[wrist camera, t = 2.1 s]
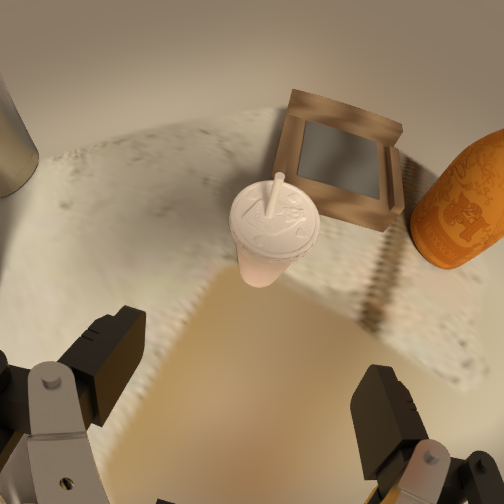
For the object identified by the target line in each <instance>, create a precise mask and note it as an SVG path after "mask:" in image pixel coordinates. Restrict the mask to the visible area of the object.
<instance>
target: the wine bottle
mask: <svg viewBox="0 0 504 504" xmlns="http://www.w3.org/2000/svg"><path fill="white" fill-rule="evenodd" d="M410 229H411V234H412V238H413V241H414V243H415V245H416V247H417V248H418V250H419V251H420V253H421V254H422V255H423V257H424V258H425V259H426V260H428V261H429V262H430V263H431V264H433V265H434V266H436V267H439V268H442V269H454V268H457V267H459V266H461V265H463V264H464V263H466V262H468V261H469V260H471V259H472V258H474V257H476V256H477V255H479V254H480V253H482V252H483V251H485V250H486V249H487V248H489V247H490V246H492V245H493V244H494V243H496V242H497V241H498V240H500V239H501V238H502V237H503V236H504V129H501V130H499V131H496V132H494V133H491V134H489V135H487V136H485V137H483V138H481V139H479V140H478V141H476V142H474V143H473V144H471V145H470V146H468V147H467V148H466V149H464V150H463V151H462V152H461V153H460V154H459V155H458V156H457V157H456V158H455V160H454V161H453V162H452V163H451V164H450V165H449V166H448V168H447V169H446V170H445V171H444V172H443V174H442V175H441V176H440V177H439V178H438V180H437V181H436V182H435V183H434V185H433V186H432V187H431V188H430V189H429V191H428V192H427V193H426V194H425V196H424V197H423V198H422V199H421V201H420V202H419V203H418V204H417V206H416V207H415V209H414V210H413V212H412V215H411V219H410Z"/></svg>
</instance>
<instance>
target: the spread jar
mask: <svg viewBox="0 0 504 504" xmlns="http://www.w3.org/2000/svg"><path fill="white" fill-rule="evenodd" d="M0 504H6V502H5V500H4V499H3V497H2V496H1V495H0ZM25 504H35V503H25Z"/></svg>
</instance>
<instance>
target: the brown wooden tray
mask: <svg viewBox="0 0 504 504" xmlns="http://www.w3.org/2000/svg"><path fill="white" fill-rule="evenodd" d="M402 132H403V129H402V124H400V123H398V122H395V121H393V120H390V119H388V118H385V117H382V116H379V115H377V114H374V113H371V112H369V111H366V110H363V109H360V108H357V107H354V106H351V105H348V104H345V103H341V102H339V101H335V100H332V99H329V98H325V97H322V96H318V95H315V94H311V93H307V92H304V91H299V90H295V89H292V93H291V97H290V101H289V105H288V109H287V113H286V117H285V121H284V125H283V129H282V133H281V137H280V141H279V146H278V150H277V154H276V158H275V162H274V166H273V170H272V174H271V178H270V180H274V178H275V174H276V173H277V172H281V173H283V174H284V175H285V178H284V182H285V183H288V184H291V185H293V186H295V187H297V188H299V189H300V190H302V191H303V192H304V193H305V194H307V195H308V196H309V197H310V199H311V200H312V201H313V203H314V204H315V206H316V208H317V210H318V213H319V214H320V215H324V216H327V217H331V218H335V219H338V220H342V221H345V222H349V223H352V224H356V225H359V226H363V227H366V228H370V229H373V230H376V231H380V232H384V231H385V230H386V229H387V228H388V226H389V225H390V224H391V223H392V222H393V221H394V220H395V219H396V217H397V216H398V215H399V214H400V213H401V212H402V211H403V210H404V208H405V207H404V195H403V185H402V175H401V167H400V159H399V152H398V149H396V148H394V145H395V143H396V141H397V140H398V139H399V137H400V135H401V133H402Z"/></svg>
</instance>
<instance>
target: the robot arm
mask: <svg viewBox="0 0 504 504" xmlns="http://www.w3.org/2000/svg"><path fill="white" fill-rule="evenodd" d="M38 159H39V153H38V150H37V148H36V147H35V145H34V143H33V141H32V139H31V137H30V135H29V133H28V131H27V129H26V127H25V125H24V123H23V121H22V119H21V117H20V115H19V113H18V111H17V109H16V107H15V105H14V102H13V100H12V98H11V96H10V94H9V91H8V89H7V87H6V85H5V82H4V80H3V78H2V75H1V73H0V197H3V196H7V195H9V194H11V193H13V192H15V191H16V190H18V189H19V188H20V187H21V186H22V185H23V184H24V183H25V182H26V181H27V180H28V179H29V178H30V176H31V175H32V174H33V172H34V170H35V168H36V166H37V163H38ZM145 327H146V313H145V311H142V310H138V309H135V308H132V307H129V306H126V305H125V306H123V307H122V308H121V309H120V310H119V312H118V313H117V314H116V315H115V316H111V315H109V314H107V315H105V316H103V317H101V318H99V319H96V320H95V321H94V322H93V323H92V324H91V325H90V326H89V327H88V330H86V331H85V332H84V333H83V334H82V335H81V337H79V338H78V339H77V340H76V341H75V342H74V343H73V344H72V346H71V347H70V348H69V349H68V350H67V351H66V352H65V353H64V354H63V355H62V356H61V358H60V359H59V360H58V361H57V362H54V361H48V362H42V363H40V364H38V365H36V366H34V367H33V368H32V369H31V370H30V369H25V368H21V367H17V366H13V365H9V364H8V361H7V358H6V356H5V354H4V353H3V352H2V351H1V350H0V472H1V470H2V469H3V467H4V465H5V464H6V462H7V460H8V458H9V457H10V455H11V453H12V452H13V450H14V448H15V447H16V445H17V444H18V442H19V440H20V439H21V437H22V436H23V434H24V433H26V434H29V435H31V436H28V438H27V446H28V454H29V461H30V467H31V473H32V478H33V484H34V488H35V493H36V497H37V502H38V504H110V503H109V500H108V498H107V495H106V492H105V490H104V487H103V484H102V481H101V479H100V476H99V473H98V470H97V467H96V463H95V460H94V457H93V454H92V450H91V447H90V443H89V440H88V436H87V432H86V431H87V430H88V428H89V426H90V425H91V423H93V424H95V425H97V426H100V427H103V425H104V423H105V421H106V420H107V418H108V416H109V414H110V413H111V411H112V409H113V407H114V406H115V404H116V402H117V400H118V399H119V397H120V395H121V394H122V392H123V390H124V388H125V387H126V385H127V383H128V382H129V380H130V378H131V377H132V375H133V373H134V372H135V370H136V368H137V367H138V365H139V363H140V361H141V359H142V356H143V352H144V345H145ZM350 409H351V415H352V419H353V424H354V428H355V434H356V438H357V443H358V448H359V453H360V459H361V463H362V469H363V475H364V480H377V482H378V485H377V486H376V487H375V488H374V489H373V490H372V492H371V494H370V495H369V497H368V498H367V500H366V501H365V503H364V504H463V503H465V502H466V501H467V500H468V504H504V482H503V480H502V477H501V475H500V472H499V470H498V467H497V465H496V463H495V461H494V459H493V458H492V457H491V456H490V455H489V454H487V453H486V452H483V451H475V452H473V453H472V454H471V455H470V456H469V457H468V458H467V459H466V460H463V459H458V458H453V457H450V454H449V452H448V450H447V449H446V448H445V447H444V446H443V445H442V444H441V443H439V442H437V441H435V440H431V439H429V437H428V435H427V432H426V430H425V427H424V425H423V422H422V420H421V418H420V415H419V413H418V412H417V411H416V410H417V408H416V406H415V404H414V403H413V399H412V397H411V395H410V392H409V391H408V389H407V388H406V387H405V386H404V385H403V384H402V383H401V381H398V380H397V377H396V375H395V373H394V371H393V368H392V367H389V366H381V365H374V364H372V365H370V366H369V368H368V369H367V371H366V373H365V375H364V377H363V378H362V380H361V382H360V383H359V385H358V387H357V389H356V390H355V392H354V394H353V396H352V399H351V404H350ZM156 504H174V503H171V502H167V501H164V500H160V499H157V502H156Z"/></svg>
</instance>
